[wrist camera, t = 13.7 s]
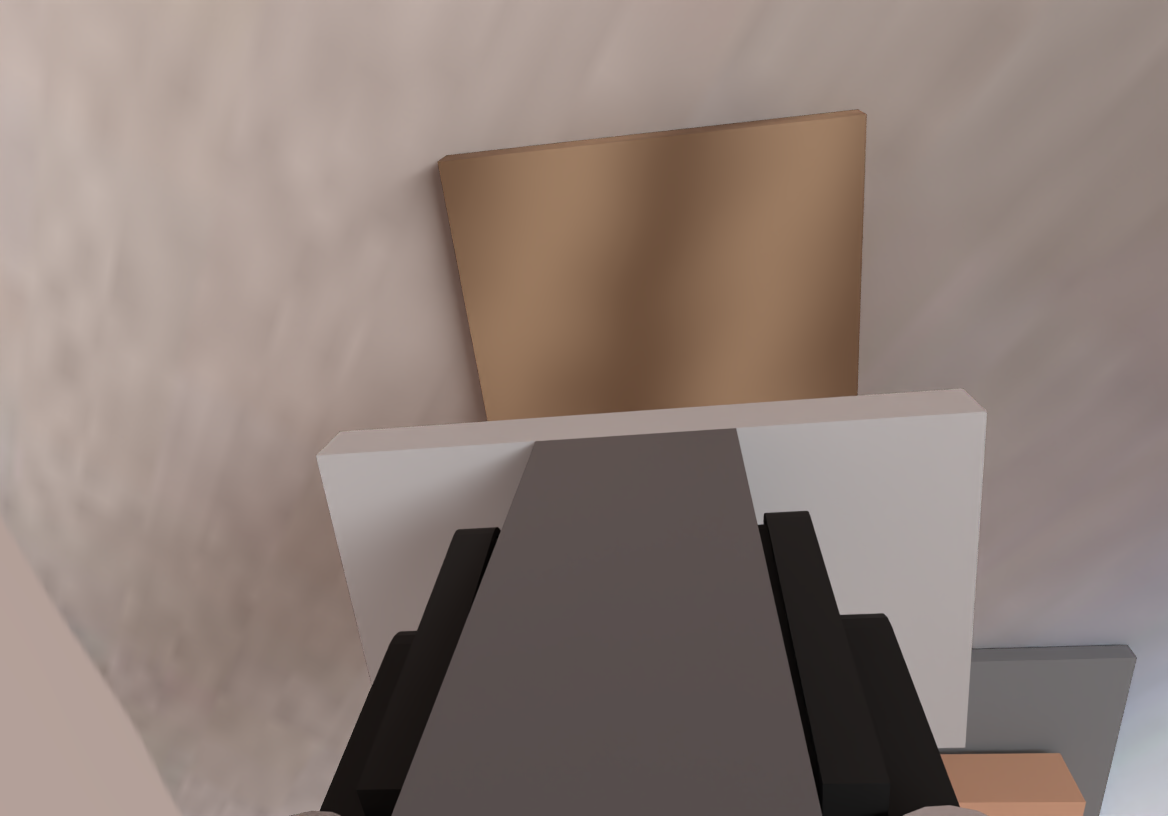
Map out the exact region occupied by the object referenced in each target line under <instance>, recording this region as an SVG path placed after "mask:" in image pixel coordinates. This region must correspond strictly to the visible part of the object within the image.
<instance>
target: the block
mask: <svg viewBox="0 0 1168 816" xmlns="http://www.w3.org/2000/svg"><path fill="white" fill-rule="evenodd" d="M940 755H941V758H942V760H943V763H944V766H945V768H946V771H947V774H948V776H949V779H950V781H951V784H952V787H953V789H954V792H955V795H956V797H957V800H958V803H959V805H960V807H961V808H967V809H972V810H977V811H979V812H982V813H984V814H986V815H988V816H1083V813H1084V809H1085V805H1086V801H1085V799H1084V797H1083V796H1082V794H1081V792H1080V790H1079V788H1078V786H1077V784H1076V782H1075V780H1074V778H1073V777H1072V775H1071V773H1070V771H1069V769H1068V767H1067V765H1066V763H1065V761H1064V760H1063V758H1062V756H1061V754H1060V753H1019V754H940Z"/></svg>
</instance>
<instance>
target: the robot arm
mask: <svg viewBox="0 0 1168 816" xmlns="http://www.w3.org/2000/svg"><path fill="white" fill-rule="evenodd" d="M758 529H759V533H760V538H761V542H762V547H763V551H764V556H765V560H766V565H767V569H768V574H769V578H770V583H771V587H772V592H773V596H774V601H775V605H776V610H777V614H778V619H779V623H780V628H781V632H782V637H783V641H784V646H785V650H786V655H787V659H788V664H789V668H790V673H791V677H792V682H793V686H794V691H795V695H796V700H797V704H798V709H799V713H800V718H801V722H802V727H803V731H804V736H805V740H806V745H807V749H808V754H809V758H810V763H811V767H812V772H813V776H814V781H815V785H816V790H817V794H818V799H819V803H820V808H821V813H822V816H988V815H986V814H984V813H982V812H979V811H977V810H972V809H967V808H961V807H960V805H959V803H958V800H957V797H956V795H955V792H954V789H953V787H952V784H951V781H950V779H949V776H948V774H947V771H946V768H945V766H944V763H943V760H942V758H941V755H940V752H939V750H938V747H937V744H936V742H935V739H934V736H933V734H932V731H931V728H930V726H929V723H928V721H927V718H926V715H925V713H924V710H923V707H922V705H921V702H920V699H919V697H918V694H917V691H916V689H915V686H914V683H913V681H912V678H911V675H910V673H909V670H908V668H907V665H906V662H905V660H904V657H903V654H902V652H901V649H900V646H899V644H898V641H897V638H896V636H895V633H894V630H893V628H892V625H891V623H890V621H889V619H888V617H887V616H886V615H885V614H884V613H876V614H849V615H840V613H839V610H838V606H837V603H836V600H835V596H834V593H833V590H832V586H831V583H830V580H829V576H828V573H827V570H826V566H825V563H824V560H823V556H822V553H821V550H820V546H819V543H818V540H817V536H816V533H815V530H814V526H813V523H812V520H811V516H810V514H809V512H808V511H790V512H771V513H764V518H763V524H759V525H758ZM500 532H501V530H500V528H498V527H490V528H471V529H458V530H456V531H455V533H454V535H453V538H452V540H451V543H450V546H449V548H448V551H447V553H446V556H445V559H444V561H443V564H442V566H441V569H440V572H439V574H438V577H437V579H436V582H435V585H434V587H433V590H432V593H431V595H430V598H429V600H428V603H427V606H426V608H425V611H424V613H423V616H422V619H421V621H420V624H419V626H418V629H417V631H400V632H398V633H397V634H396V635H394V637H393V639H392V640H391V642H390V644H389V646H388V649H387V651H386V653H385V656H384V658H383V661H382V663H381V665H380V668H379V670H378V672H377V675H376V677H375V680H374V682H373V684H372V687H371V689H370V692H369V694H368V696H367V699H366V701H365V704H364V706H363V708H362V711H361V713H360V716H359V718H358V720H357V723H356V725H355V728H354V730H353V732H352V735H351V737H350V739H349V742H348V744H347V747H346V749H345V751H344V754H343V756H342V759H341V761H340V763H339V766H338V768H337V771H336V773H335V775H334V778H333V780H332V783H331V785H330V787H329V790H328V792H327V795H326V797H325V799H324V802H323V804H322V806H321V809H320V811H309V812H304V813H300V814H296V815H291V816H391V815H392V813H393V810H394V808H395V805H396V802H397V800H398V797H399V795H400V792H401V789H402V787H403V784H404V782H405V779H406V776H407V774H408V771H409V769H410V766H411V763H412V761H413V758H414V756H415V753H416V750H417V748H418V745H419V743H420V740H421V737H422V735H423V732H424V730H425V727H426V724H427V722H428V719H429V717H430V714H431V711H432V709H433V706H434V704H435V701H436V698H437V696H438V693H439V691H440V688H441V685H442V683H443V680H444V678H445V675H446V672H447V670H448V667H449V665H450V662H451V659H452V657H453V654H454V651H455V649H456V646H457V644H458V641H459V638H460V636H461V633H462V631H463V628H464V625H465V623H466V620H467V618H468V615H469V612H470V610H471V607H472V605H473V602H474V599H475V597H476V594H477V592H478V589H479V586H480V584H481V581H482V579H483V576H484V573H485V571H486V568H487V566H488V563H489V560H490V558H491V555H492V553H493V550H494V547H495V545H496V542H497V540H498V537H499V534H500Z"/></svg>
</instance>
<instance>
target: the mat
mask: <svg viewBox="0 0 1168 816" xmlns="http://www.w3.org/2000/svg"><path fill="white" fill-rule="evenodd" d="M1136 659H1137V657H1136V656H1135V655H1134V653H1133V652H1132V650H1131V649H1130V648H1129V646H1128V645H1112V646H1074V647H1037V648H1000V649H972V651H971V667H970V682H969V697H968V712H967V728H966V743H965V748H938V750H939V752H940V754H1019V753H1060V754H1061V756H1062V758H1063V760H1064V761H1065V763H1066V765H1067V767H1068V769H1069V771H1070V773H1071V775H1072V777H1073V778H1074V780H1075V782H1076V784H1077V786H1078V788H1079V790H1080V792H1081V794H1082V796H1083V797H1084V799H1085V801H1086V805H1085V809H1084V813H1083V816H1099V813H1100V809H1101V805H1102V801H1103V797H1104V792H1105V788H1106V784H1107V780H1108V776H1109V772H1110V767H1111V763H1112V759H1113V755H1114V751H1115V747H1116V742H1117V738H1118V734H1119V730H1120V726H1121V721H1122V717H1123V713H1124V709H1125V705H1126V701H1127V696H1128V692H1129V688H1130V684H1131V680H1132V676H1133V671H1134V667H1135V663H1136Z"/></svg>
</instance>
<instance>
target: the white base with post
mask: <svg viewBox="0 0 1168 816" xmlns="http://www.w3.org/2000/svg"><path fill="white" fill-rule="evenodd" d="M986 422H987V411H986V410H985V409H984V408H983V407H982V406H981V405H980V404H979V403H978V402H977V401H976V400H975V399H974V398H972V397H971V396H970V395H969V394H968V393H967V392H966V391H965V390H964V389H963V388H961V389H946V390H932V391H917V392H903V393H888V394H874V395H860V396H845V397H831V398H816V399H802V400H788V401H773V402H759V403H744V404H730V405H715V406H701V407H687V408H672V409H658V410H643V411H629V412H615V413H600V414H586V415H571V416H557V417H542V418H528V419H514V420H499V421H485V422H470V423H456V424H442V425H427V426H413V427H398V428H384V429H369V430H355V431H341V432H339V433H338V434H337V435H336V436H335V437H334V438H333V439H332V440H331V441H330V442H329V443H328V444H327V445H326V446H325V447H324V448H323V449H322V450H321V451H320V452H319V453H318V454H317V455H316V458H317V462H318V466H319V470H320V474H321V479H322V483H323V487H324V491H325V495H326V499H327V503H328V507H329V512H330V516H331V520H332V524H333V528H334V532H335V536H336V540H337V545H338V549H339V553H340V557H341V561H342V565H343V569H344V573H345V578H346V582H347V586H348V590H349V594H350V598H351V602H352V607H353V611H354V615H355V619H356V623H357V627H358V631H359V635H360V640H361V644H362V648H363V652H364V656H365V660H366V664H367V668H368V673H369V677H370V681H371V685H372V684H373V682H374V680H375V677H376V675H377V672H378V670H379V668H380V665H381V663H382V661H383V658H384V656H385V653H386V651H387V649H388V646H389V644H390V642H391V640H392V639H393V637H394V635H396V634H397V633H398V632H400V631H417V629H418V626H419V624H420V621H421V619H422V616H423V613H424V611H425V608H426V606H427V603H428V600H429V598H430V595H431V593H432V590H433V587H434V585H435V582H436V579H437V577H438V574H439V572H440V569H441V566H442V564H443V561H444V559H445V556H446V553H447V551H448V548H449V546H450V543H451V540H452V538H453V535H454V533H455V531H456V530H458V529H471V528H490V527H498V528H500V530H501V532H500V534H499V537H498V540H497V542H496V545H495V547H494V550H493V553H492V555H491V558H490V560H489V563H488V566H487V568H486V571H485V573H484V576H483V579H482V581H481V584H480V586H479V589H478V592H477V594H476V597H475V599H474V602H473V605H472V607H471V610H470V612H469V615H468V618H467V620H466V623H465V625H464V628H463V631H462V633H461V636H460V638H459V641H458V644H457V646H456V649H455V651H454V654H453V657H452V659H451V662H450V665H449V667H448V670H447V672H446V675H445V678H444V680H443V683H442V685H441V688H440V691H439V693H438V696H437V698H436V701H435V704H434V706H433V709H432V711H431V714H430V717H429V719H428V722H427V724H426V727H425V730H424V732H423V735H422V737H421V740H420V743H419V745H418V748H417V750H416V753H415V756H414V758H413V761H412V763H411V766H410V769H409V771H408V774H407V776H406V779H405V782H404V784H403V787H402V789H401V792H400V795H399V797H398V800H397V802H396V805H395V808H394V810H393V813H392V815H391V816H822V813H821V808H820V803H819V799H818V794H817V790H816V785H815V781H814V776H813V772H812V767H811V763H810V758H809V754H808V749H807V745H806V740H805V736H804V731H803V727H802V722H801V718H800V713H799V709H798V704H797V700H796V695H795V691H794V686H793V682H792V677H791V673H790V668H789V664H788V659H787V655H786V650H785V646H784V641H783V637H782V632H781V628H780V623H779V619H778V614H777V610H776V605H775V601H774V596H773V592H772V587H771V583H770V578H769V574H768V569H767V565H766V560H765V556H764V551H763V547H762V542H761V538H760V533H759V529H758V525H759V524H763V518H764V513H771V512H790V511H808V512H809V514H810V516H811V520H812V523H813V526H814V530H815V533H816V536H817V540H818V543H819V546H820V550H821V553H822V556H823V560H824V563H825V566H826V570H827V573H828V576H829V580H830V583H831V586H832V590H833V593H834V596H835V600H836V603H837V606H838V610H839V613H840V615H849V614H876V613H884V614H885V615H886V616H887V617H888V619H889V621H890V623H891V625H892V628H893V630H894V633H895V636H896V638H897V641H898V644H899V646H900V649H901V652H902V654H903V657H904V660H905V662H906V665H907V668H908V670H909V673H910V675H911V678H912V681H913V683H914V686H915V689H916V691H917V694H918V697H919V699H920V702H921V705H922V707H923V710H924V713H925V715H926V718H927V721H928V723H929V726H930V728H931V731H932V734H933V736H934V739H935V742H936V744H937V747H938V748H965V743H966V728H967V712H968V697H969V682H970V667H971V651H972V636H973V621H974V605H975V590H976V575H977V560H978V544H979V529H980V514H981V499H982V483H983V468H984V453H985V438H986Z"/></svg>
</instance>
